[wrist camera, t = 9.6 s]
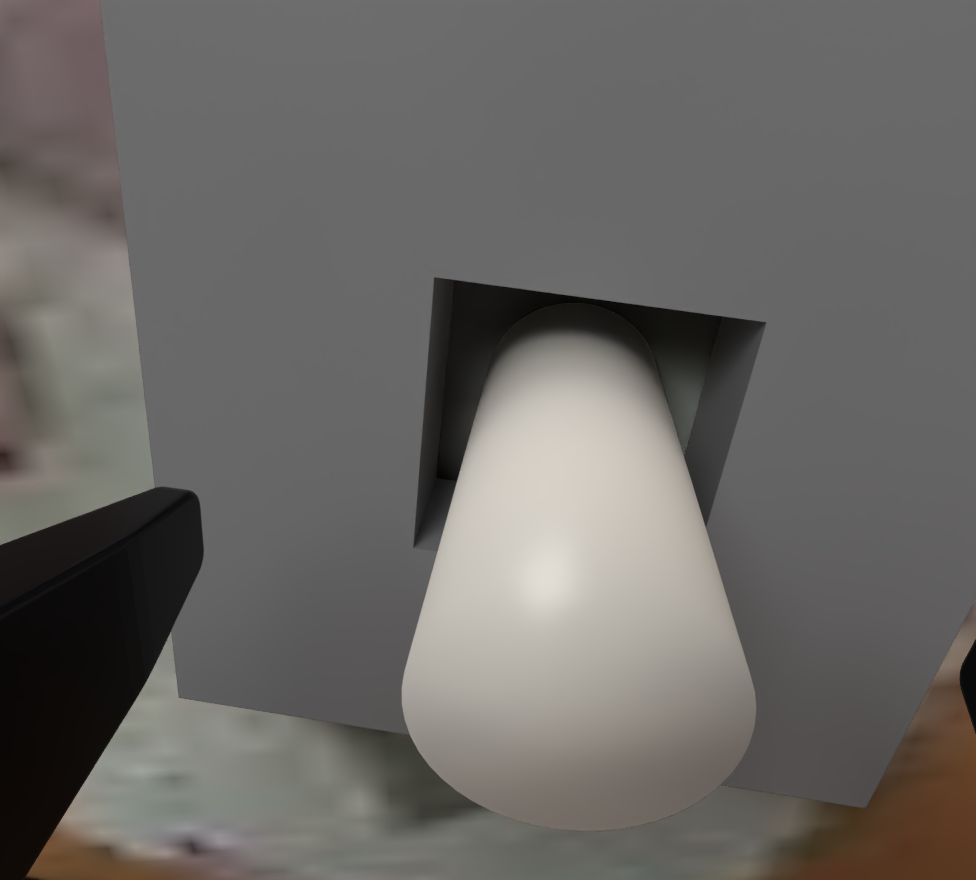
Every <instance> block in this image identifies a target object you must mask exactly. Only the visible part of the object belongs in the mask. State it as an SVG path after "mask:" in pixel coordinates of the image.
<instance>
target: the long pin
mask: <svg viewBox="0 0 976 880" xmlns="http://www.w3.org/2000/svg"><path fill="white" fill-rule="evenodd" d="M402 708H403V713H404V719H405V722H406V725H407V728H408V731H409V734H410V736H411V738H412V740H413V742H414V744H415V746H416V747H417V749H418V751H419V753H420V754H421V755H422V757H423V758H424V759H425V761H426V762H427V763H428V765H429V766H430V767H431V768H432V769H433V770H434V771H435V772H436V773H437V774H438V775H439V776H440V777H441V778H442V779H443V780H444V781H445V782H446V783H448V784H449V785H450V786H451V787H452V788H454V789H455V790H456V791H458V792H459V793H461V794H462V795H464V796H465V797H467V798H468V799H470V800H471V801H473V802H475V803H477V804H479V805H481V806H483V807H485V808H486V809H488V810H490V811H493V812H495V813H498V814H500V815H503V816H505V817H508V818H511V819H514V820H517V821H521V822H524V823H527V824H532V825H537V826H541V827H546V828H553V829H561V830H570V831H603V830H615V829H622V828H629V827H634V826H638V825H643V824H647V823H651V822H654V821H657V820H660V819H663V818H666V817H669V816H671V815H673V814H676V813H678V812H680V811H682V810H684V809H686V808H688V807H690V806H692V805H693V804H695V803H697V802H698V801H700V800H702V799H703V798H705V797H706V796H707V795H709V794H710V793H711V792H712V791H714V790H715V789H716V788H717V787H719V786H720V785H721V784H722V783H723V782H724V781H725V780H726V778H727V777H728V776H729V775H730V774H731V773H732V772H733V771H734V769H735V768H736V766H737V765H738V764H739V762H740V761H741V759H742V758H743V756H744V754H745V752H746V750H747V748H748V746H749V743H750V741H751V737H752V734H753V730H754V727H755V718H756V698H755V690H754V686H753V682H752V679H751V675H750V672H749V668H748V665H747V662H746V658H745V655H744V652H743V649H742V645H741V642H740V639H739V636H738V632H737V629H736V626H735V622H734V619H733V616H732V613H731V609H730V606H729V603H728V599H727V596H726V593H725V590H724V586H723V583H722V580H721V576H720V573H719V570H718V567H717V563H716V560H715V557H714V553H713V550H712V547H711V544H710V540H709V537H708V534H707V530H706V527H705V524H704V521H703V517H702V514H701V511H700V507H699V504H698V501H697V498H696V494H695V491H694V488H693V484H692V481H691V478H690V475H689V471H688V468H687V465H686V462H685V458H684V455H683V452H682V448H681V445H680V442H679V439H678V435H677V432H676V429H675V425H674V422H673V419H672V416H671V412H670V409H669V406H668V402H667V399H666V396H665V393H664V389H663V386H662V383H661V379H660V376H659V373H658V370H657V366H656V363H655V360H654V356H653V354H652V352H651V350H650V347H649V345H648V344H647V342H646V341H645V339H644V337H643V336H642V335H641V334H640V332H639V331H638V330H637V329H636V328H635V327H634V326H633V325H632V324H631V323H629V322H628V321H627V320H626V319H624V318H623V317H621V316H620V315H618V314H616V313H614V312H612V311H610V310H608V309H605V308H602V307H599V306H596V305H591V304H585V303H562V304H556V305H551V306H548V307H545V308H541V309H539V310H537V311H535V312H532V313H530V314H528V315H527V316H525V317H524V318H522V319H521V320H519V321H518V322H517V323H516V324H515V325H513V326H512V327H511V328H510V329H509V330H508V331H507V332H506V334H505V335H504V336H503V337H502V339H501V340H500V342H499V343H498V345H497V347H496V349H495V351H494V353H493V355H492V358H491V361H490V364H489V368H488V371H487V375H486V379H485V382H484V386H483V389H482V393H481V397H480V400H479V404H478V407H477V411H476V415H475V418H474V422H473V425H472V429H471V433H470V436H469V440H468V443H467V447H466V451H465V454H464V458H463V462H462V465H461V469H460V472H459V476H458V480H457V483H456V487H455V490H454V494H453V498H452V501H451V505H450V508H449V512H448V516H447V519H446V523H445V527H444V530H443V534H442V537H441V541H440V545H439V548H438V552H437V555H436V559H435V563H434V566H433V570H432V573H431V577H430V581H429V584H428V588H427V591H426V595H425V599H424V602H423V606H422V610H421V613H420V617H419V620H418V624H417V628H416V631H415V635H414V638H413V642H412V646H411V649H410V653H409V656H408V660H407V664H406V667H405V671H404V677H403V683H402Z"/></svg>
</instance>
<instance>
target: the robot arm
mask: <svg viewBox="0 0 976 880" xmlns="http://www.w3.org/2000/svg"><path fill="white" fill-rule="evenodd" d="M203 557H204V543H203V531H202V519H201V507H200V501H199V498H198V496H197V495H196V494H195V493H194V492H193V491H191V490H185V489H178V488H171V487H165V486H162V487H156V488H154V489H151V490H148V491H145V492H143V493H140V494H137V495H135V496H132V497H129V498H126V499H124V500H121V501H118V502H116V503H113V504H110V505H108V506H105V507H102V508H99V509H97V510H94V511H91V512H89V513H86V514H83V515H80V516H78V517H75V518H72V519H70V520H67V521H64V522H62V523H59V524H56V525H53V526H51V527H48V528H45V529H43V530H40V531H37V532H35V533H32V534H29V535H26V536H24V537H21V538H18V539H16V540H13V541H10V542H7V543H5V544H2V545H0V880H24V878H25V877H26V875H27V874H28V872H29V870H30V869H31V867H32V866H33V864H34V862H35V861H36V859H37V858H38V856H39V854H40V853H41V851H42V850H43V848H44V846H45V845H46V843H47V841H48V840H49V838H50V837H51V835H52V833H53V832H54V830H55V829H56V827H57V825H58V824H59V822H60V821H61V819H62V817H63V816H64V814H65V813H66V811H67V809H68V808H69V806H70V805H71V803H72V801H73V800H74V798H75V796H76V795H77V793H78V792H79V790H80V788H81V787H82V785H83V784H84V782H85V780H86V779H87V777H88V776H89V774H90V772H91V771H92V769H93V768H94V766H95V764H96V763H97V761H98V759H99V758H100V756H101V755H102V753H103V751H104V750H105V748H106V747H107V745H108V743H109V742H110V740H111V739H112V737H113V735H114V734H115V732H116V731H117V729H118V727H119V726H120V724H121V723H122V721H123V719H124V718H125V716H126V714H127V713H128V711H129V710H130V708H131V706H132V705H133V703H134V702H135V700H136V698H137V697H138V695H139V693H140V691H141V690H142V688H143V686H144V685H145V683H146V681H147V679H148V677H149V675H150V673H151V671H152V669H153V668H154V666H155V664H156V662H157V659H158V657H159V655H160V653H161V651H162V649H163V647H164V645H165V643H166V641H167V638H168V636H169V634H170V632H171V630H172V628H173V626H174V624H175V622H176V620H177V618H178V615H179V613H180V611H181V609H182V607H183V605H184V603H185V601H186V599H187V597H188V594H189V592H190V590H191V588H192V586H193V584H194V582H195V580H196V578H197V576H198V574H199V571H200V569H201V566H202V562H203ZM960 686H961V691H962V694H963V697H964V700H965V703H966V706H967V709H968V712H969V715H970V718H971V721H972V724H973V727H974V730H975V733H976V640H975V641H974V643H973V645H972V647H971V649H970V651H969V653H968V654H967V656H966V658H965V660H964V662H963V664H962V666H961V671H960Z"/></svg>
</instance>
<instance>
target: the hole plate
mask: <svg viewBox="0 0 976 880" xmlns="http://www.w3.org/2000/svg"><path fill="white" fill-rule="evenodd" d="M100 7H101V16H102V25H103V34H104V43H105V51H106V60H107V69H108V78H109V87H110V95H111V104H112V113H113V122H114V131H115V139H116V148H117V157H118V166H119V175H120V183H121V192H122V201H123V210H124V219H125V228H126V236H127V245H128V254H129V263H130V272H131V280H132V289H133V298H134V307H135V316H136V324H137V333H138V342H139V351H140V360H141V368H142V377H143V386H144V395H145V404H146V413H147V421H148V430H149V439H150V448H151V457H152V465H153V474H154V483H155V488H156V487H162V486H165V487H171V488H178V489H185V490H191V491H193V492H194V493H195V494H196V495H197V496H198V498H199V501H200V507H201V519H202V531H203V543H204V557H203V562H202V566H201V569H200V571H199V574H198V576H197V578H196V580H195V582H194V584H193V586H192V588H191V590H190V592H189V594H188V597H187V599H186V601H185V603H184V605H183V607H182V609H181V611H180V613H179V615H178V618H177V620H176V622H175V624H174V626H173V628H172V630H171V633H172V642H173V650H174V659H175V668H176V677H177V686H178V694H179V698H184V699H190V700H196V701H202V702H208V703H215V704H221V705H227V706H233V707H239V708H246V709H252V710H258V711H264V712H270V713H277V714H283V715H289V716H295V717H301V718H308V719H314V720H320V721H326V722H332V723H339V724H345V725H351V726H357V727H364V728H370V729H376V730H382V731H388V732H395V733H401V734H407V735H410V734H409V731H408V728H407V725H406V722H405V719H404V713H403V708H402V683H403V677H404V671H405V667H406V664H407V660H408V656H409V653H410V649H411V646H412V642H413V638H414V635H415V631H416V628H417V624H418V620H419V617H420V613H421V610H422V606H423V602H424V599H425V595H426V591H427V588H428V584H429V581H430V577H431V573H432V570H433V566H434V563H435V559H436V555H437V552H438V548H439V545H440V541H441V537H442V534H443V530H444V527H445V523H446V519H447V516H448V512H449V508H450V505H451V501H452V498H453V494H454V490H455V487H456V483H457V481H453V480H446V479H439V478H436V477H437V466H438V455H439V444H440V433H441V422H442V411H443V400H444V389H445V378H446V367H447V355H448V344H449V333H450V322H451V311H452V300H453V289H454V280H459V281H466V282H474V283H481V284H488V285H496V286H503V287H510V288H518V289H525V290H533V291H540V292H547V293H555V294H562V295H569V296H577V297H584V298H591V299H599V300H606V301H614V302H621V303H628V304H636V305H643V306H650V307H658V308H665V309H672V310H680V311H687V312H695V313H702V314H709V315H717V316H722V318H721V322H720V326H719V329H718V333H717V337H716V341H715V344H714V348H713V352H712V356H711V359H710V363H709V367H708V371H707V375H706V378H705V382H704V386H703V390H702V393H701V397H700V401H699V405H698V409H697V412H696V416H695V420H694V424H693V427H692V431H691V435H690V439H689V442H688V446H687V450H686V454H685V462H686V465H687V468H688V471H689V475H690V478H691V481H692V484H693V488H694V491H695V494H696V498H697V501H698V504H699V507H700V511H701V514H702V517H703V521H704V524H705V527H706V530H707V534H708V537H709V540H710V544H711V547H712V550H713V553H714V557H715V560H716V563H717V567H718V570H719V573H720V576H721V580H722V583H723V586H724V590H725V593H726V596H727V599H728V603H729V606H730V609H731V613H732V616H733V619H734V622H735V626H736V629H737V632H738V636H739V639H740V642H741V645H742V649H743V652H744V655H745V658H746V662H747V665H748V668H749V672H750V675H751V679H752V682H753V686H754V690H755V698H756V718H755V727H754V730H753V734H752V737H751V741H750V743H749V746H748V748H747V750H746V752H745V754H744V756H743V758H742V759H741V761H740V762H739V764H738V765H737V766H736V768H735V769H734V771H733V772H732V773H731V774H730V775H729V776H728V777H727V778H726V780H725V781H724V782H723V783H722V784H721V785H723V786H730V787H736V788H742V789H748V790H754V791H761V792H767V793H773V794H779V795H785V796H792V797H798V798H804V799H810V800H816V801H823V802H829V803H835V804H841V805H847V806H854V807H860V808H866V807H867V805H868V803H869V801H870V799H871V797H872V795H873V794H874V792H875V790H876V788H877V786H878V784H879V782H880V780H881V778H882V776H883V774H884V773H885V771H886V769H887V767H888V765H889V763H890V761H891V759H892V757H893V755H894V753H895V752H896V750H897V748H898V746H899V744H900V742H901V740H902V738H903V736H904V734H905V733H906V731H907V729H908V727H909V725H910V723H911V721H912V719H913V717H914V715H915V713H916V712H917V710H918V708H919V706H920V704H921V702H922V700H923V698H924V696H925V694H926V692H927V691H928V689H929V687H930V685H931V683H932V681H933V679H934V677H935V675H936V673H937V671H938V670H939V668H940V666H941V664H942V662H943V660H944V658H945V656H946V654H947V652H948V651H949V649H950V647H951V645H952V643H953V641H954V639H955V637H956V635H957V633H958V631H959V630H960V628H961V626H962V624H963V622H964V620H965V618H966V616H967V614H968V612H969V610H970V609H971V607H972V605H973V603H974V601H975V599H976V0H100Z"/></svg>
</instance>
